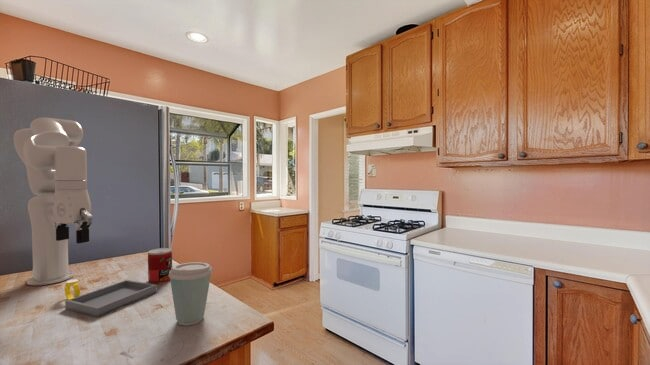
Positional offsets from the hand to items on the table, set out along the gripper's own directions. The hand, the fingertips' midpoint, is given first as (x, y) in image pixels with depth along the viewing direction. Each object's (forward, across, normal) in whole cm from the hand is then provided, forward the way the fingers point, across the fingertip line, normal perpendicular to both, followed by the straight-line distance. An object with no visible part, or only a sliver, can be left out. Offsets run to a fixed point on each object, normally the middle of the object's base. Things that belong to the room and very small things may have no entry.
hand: (72, 241), depth 90 cm
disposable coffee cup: (+18, +45, +2) cm, 49 cm away
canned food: (+18, +11, +22) cm, 31 cm away
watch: (+18, 0, 0) cm, 19 cm away
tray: (+18, +13, +4) cm, 23 cm away
